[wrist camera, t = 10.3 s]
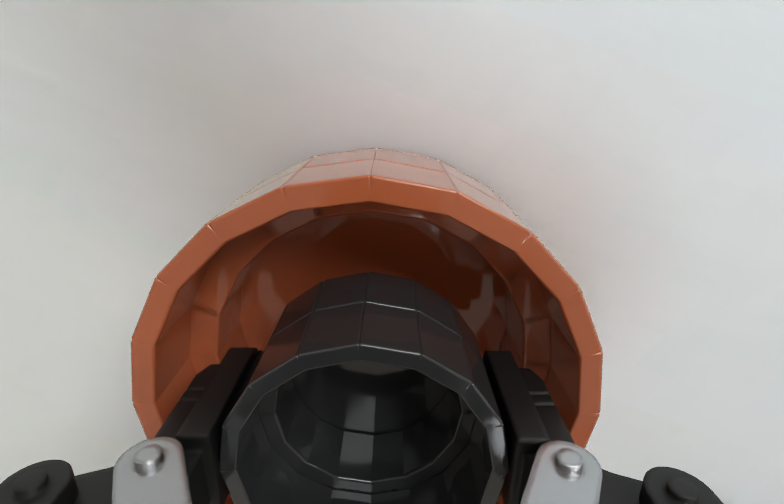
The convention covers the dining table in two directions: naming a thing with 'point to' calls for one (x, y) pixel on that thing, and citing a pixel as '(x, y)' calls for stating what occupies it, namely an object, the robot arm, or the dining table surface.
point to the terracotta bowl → (367, 254)
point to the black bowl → (366, 403)
